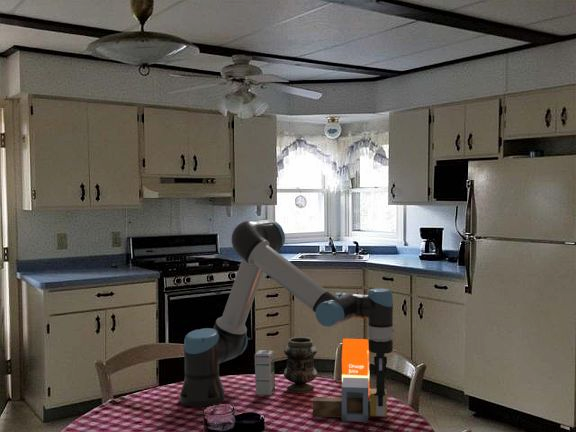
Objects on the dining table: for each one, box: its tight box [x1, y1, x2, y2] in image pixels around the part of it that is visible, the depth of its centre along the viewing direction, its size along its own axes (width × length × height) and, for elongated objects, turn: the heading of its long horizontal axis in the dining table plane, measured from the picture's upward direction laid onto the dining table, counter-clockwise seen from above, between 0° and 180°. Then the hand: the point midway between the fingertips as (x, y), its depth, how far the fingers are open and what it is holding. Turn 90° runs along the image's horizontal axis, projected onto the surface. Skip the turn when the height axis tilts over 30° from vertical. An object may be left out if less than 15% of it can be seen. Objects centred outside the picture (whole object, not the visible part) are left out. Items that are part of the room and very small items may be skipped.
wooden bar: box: [311, 396, 371, 419], centre depth 195 cm, size 18×4×5 cm, turn 84°
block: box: [369, 387, 388, 417], centre depth 193 cm, size 5×5×7 cm
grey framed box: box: [341, 378, 369, 423], centre depth 194 cm, size 8×10×10 cm
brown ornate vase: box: [283, 336, 318, 394], centre depth 221 cm, size 12×12×18 cm
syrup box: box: [254, 349, 276, 396], centre depth 218 cm, size 6×6×14 cm
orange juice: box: [341, 338, 370, 398], centre depth 212 cm, size 8×9×20 cm
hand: (380, 412), depth 193 cm, fingers closed on block, 5 cm apart
